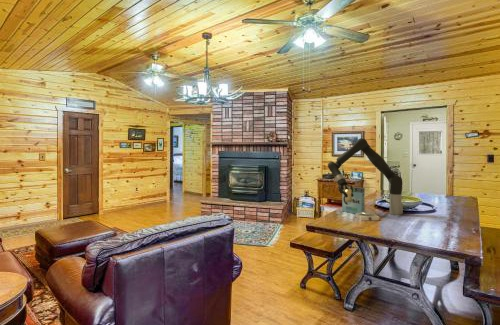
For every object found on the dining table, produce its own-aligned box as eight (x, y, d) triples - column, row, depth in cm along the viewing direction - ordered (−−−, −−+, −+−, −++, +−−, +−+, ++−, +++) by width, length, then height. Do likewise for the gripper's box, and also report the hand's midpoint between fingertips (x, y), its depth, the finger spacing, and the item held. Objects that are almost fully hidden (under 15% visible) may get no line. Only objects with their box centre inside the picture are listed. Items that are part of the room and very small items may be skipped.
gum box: (342, 211, 263) (341, 186, 262) (345, 210, 266) (345, 185, 265) (361, 215, 248) (361, 188, 246) (364, 214, 251) (364, 188, 249)
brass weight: (350, 200, 246) (350, 189, 245) (352, 201, 241) (352, 190, 240) (344, 200, 246) (344, 189, 245) (346, 202, 241) (346, 190, 240)
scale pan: (371, 211, 242) (371, 210, 242) (376, 214, 231) (376, 213, 231) (358, 211, 242) (358, 210, 242) (362, 214, 231) (362, 213, 231)
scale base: (373, 216, 242) (373, 212, 242) (379, 220, 230) (379, 216, 230) (356, 216, 243) (356, 213, 243) (361, 220, 231) (361, 216, 231)
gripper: (335, 178, 247) (344, 194, 237) (349, 177, 252) (359, 193, 241) (332, 184, 253) (340, 200, 242) (346, 182, 257) (355, 198, 246)
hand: (349, 196), depth 242 cm, fingers closed on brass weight, 5 cm apart
